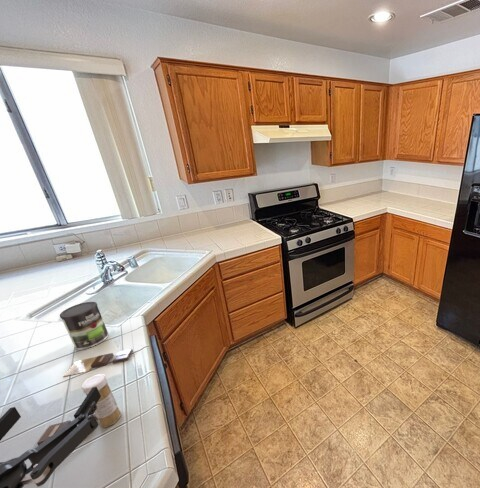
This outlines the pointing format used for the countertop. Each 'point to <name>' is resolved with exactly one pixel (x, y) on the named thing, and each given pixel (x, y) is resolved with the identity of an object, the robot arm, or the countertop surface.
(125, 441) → the countertop surface
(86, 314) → the coffee can
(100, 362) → the chocolate bar
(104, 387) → the sprinkles bottle
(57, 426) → the brown chocolate squares
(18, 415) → the robot arm
